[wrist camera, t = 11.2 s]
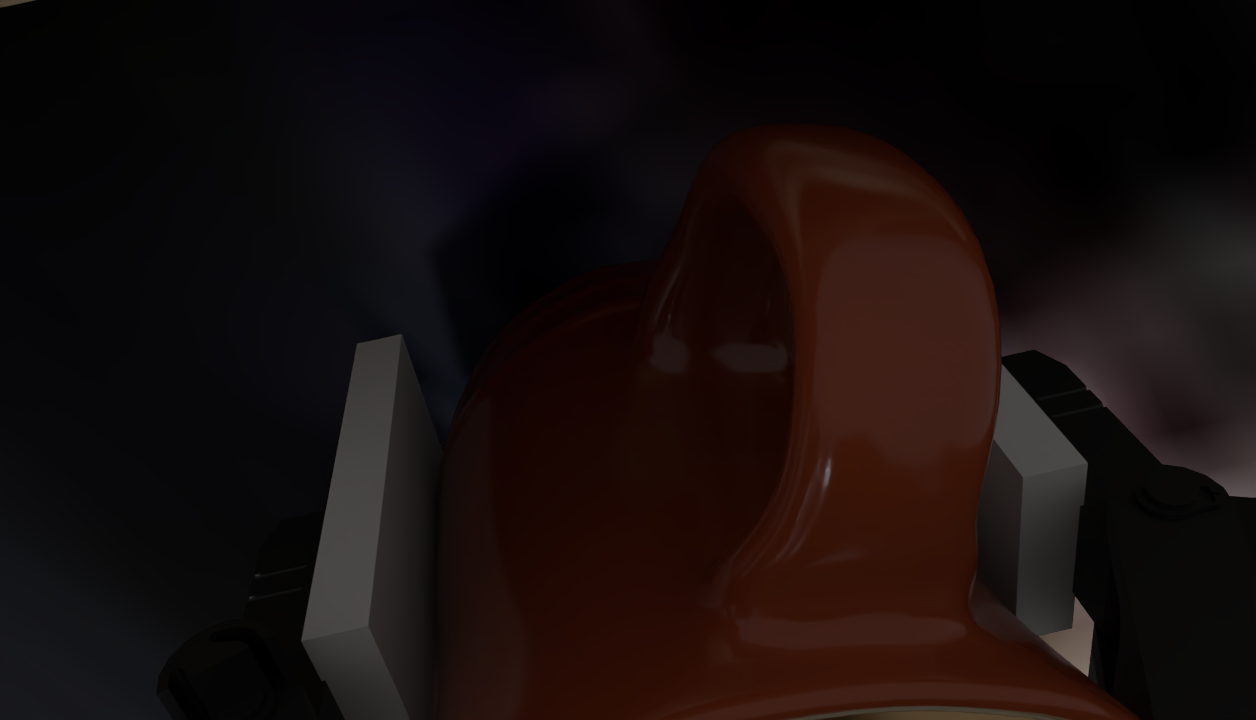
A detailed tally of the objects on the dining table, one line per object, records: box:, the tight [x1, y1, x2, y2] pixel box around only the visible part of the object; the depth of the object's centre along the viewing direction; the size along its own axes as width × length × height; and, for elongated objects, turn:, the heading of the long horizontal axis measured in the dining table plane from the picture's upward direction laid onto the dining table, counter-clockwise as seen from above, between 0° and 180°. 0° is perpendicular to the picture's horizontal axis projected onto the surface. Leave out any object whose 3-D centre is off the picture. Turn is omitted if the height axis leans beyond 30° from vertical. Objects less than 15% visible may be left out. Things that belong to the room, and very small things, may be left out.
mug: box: [435, 123, 1142, 720], centre depth 13 cm, size 12×9×10 cm
